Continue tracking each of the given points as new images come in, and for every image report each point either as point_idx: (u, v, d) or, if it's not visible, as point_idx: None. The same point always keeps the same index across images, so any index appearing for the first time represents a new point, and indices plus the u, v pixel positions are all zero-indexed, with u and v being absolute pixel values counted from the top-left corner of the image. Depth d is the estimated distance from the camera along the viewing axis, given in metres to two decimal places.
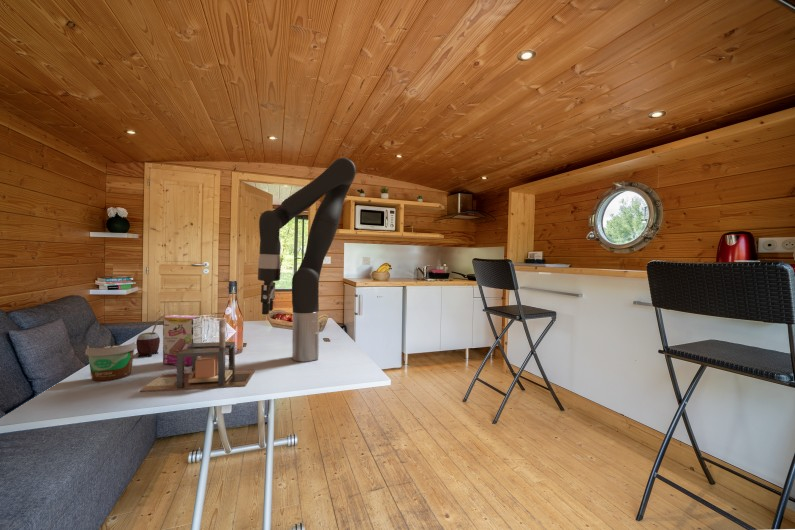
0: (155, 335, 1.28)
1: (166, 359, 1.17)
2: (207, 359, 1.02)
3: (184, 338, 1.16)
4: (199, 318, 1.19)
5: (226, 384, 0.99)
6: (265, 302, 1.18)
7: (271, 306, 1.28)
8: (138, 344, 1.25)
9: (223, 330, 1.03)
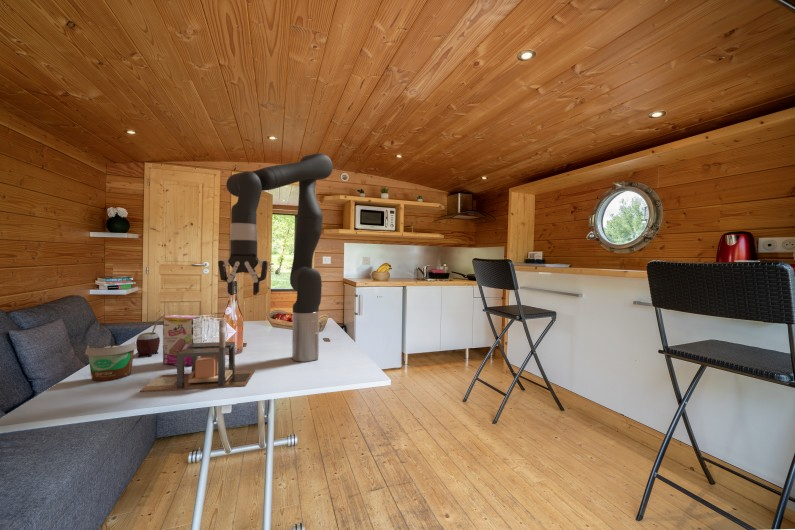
0: (155, 335, 1.28)
1: (166, 359, 1.17)
2: (207, 359, 1.02)
3: (184, 338, 1.16)
4: (199, 318, 1.19)
5: (226, 384, 0.99)
6: None
7: (233, 289, 1.05)
8: (138, 344, 1.25)
9: (223, 330, 1.03)
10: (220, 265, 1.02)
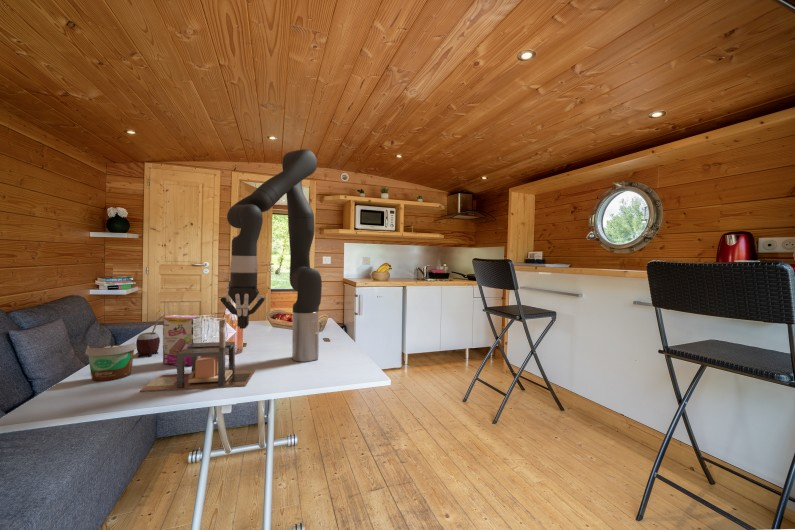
0: (155, 335, 1.28)
1: (166, 359, 1.17)
2: (207, 359, 1.02)
3: (184, 338, 1.16)
4: (199, 318, 1.19)
5: (226, 384, 0.99)
6: None
7: None
8: (138, 344, 1.25)
9: (223, 330, 1.03)
10: (224, 302, 1.03)
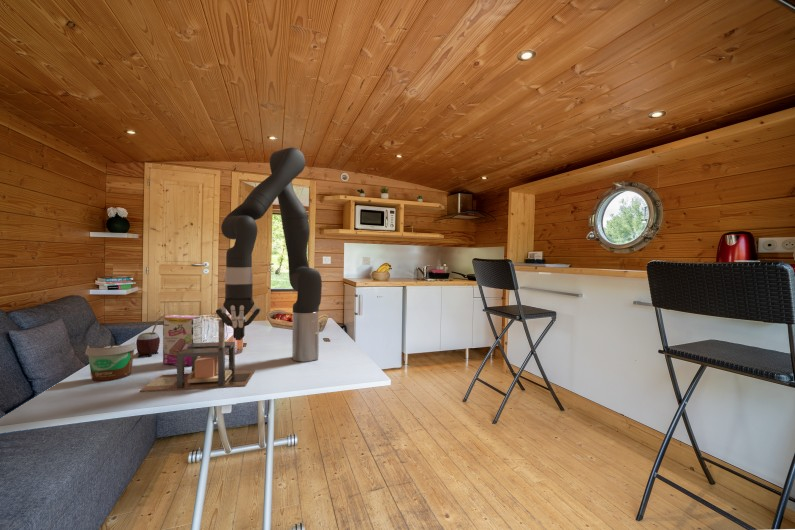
0: (155, 335, 1.28)
1: (166, 359, 1.17)
2: (206, 359, 1.02)
3: (184, 338, 1.16)
4: (199, 318, 1.19)
5: (226, 384, 0.99)
6: (247, 324, 1.05)
7: None
8: (138, 344, 1.25)
9: (222, 330, 1.03)
10: (219, 314, 1.02)
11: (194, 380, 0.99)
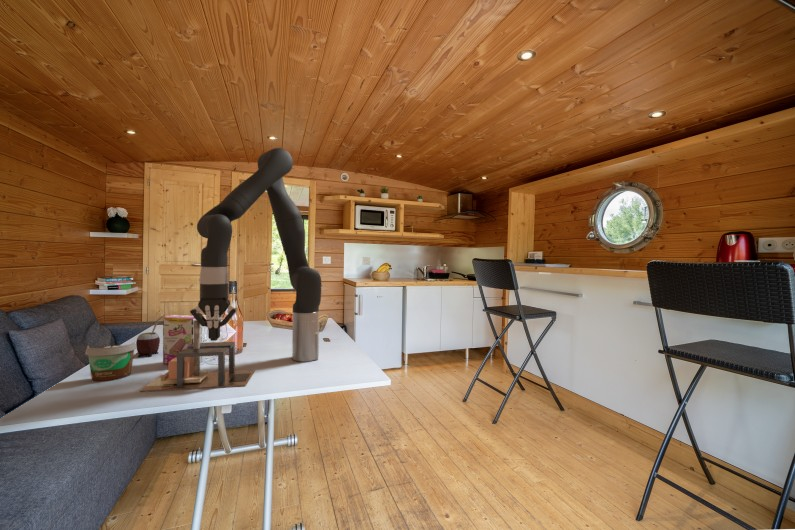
0: (155, 335, 1.28)
1: (166, 359, 1.17)
2: None
3: (184, 338, 1.16)
4: None
5: (226, 384, 0.99)
6: None
7: None
8: (138, 344, 1.25)
9: (197, 331, 1.02)
10: (194, 314, 1.01)
11: (168, 381, 0.98)
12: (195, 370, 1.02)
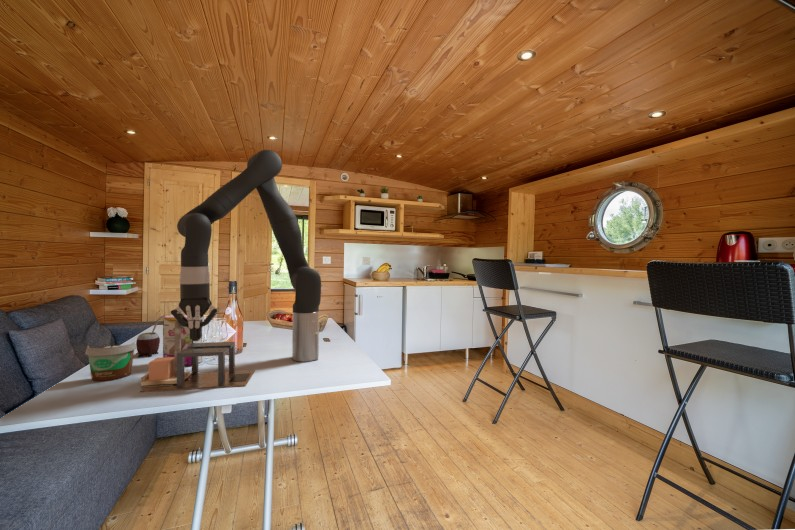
0: (155, 335, 1.28)
1: None
2: (161, 361, 0.99)
3: (184, 338, 1.16)
4: None
5: (226, 384, 0.99)
6: None
7: None
8: (138, 344, 1.25)
9: (178, 331, 1.01)
10: (174, 314, 1.00)
11: (148, 382, 0.97)
12: (176, 371, 1.01)
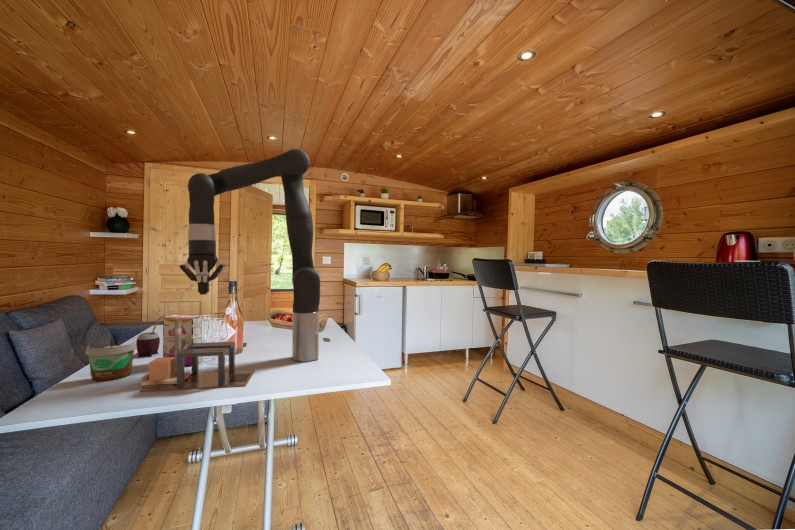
0: (155, 335, 1.28)
1: None
2: (162, 361, 0.99)
3: (184, 338, 1.16)
4: (199, 318, 1.19)
5: (226, 384, 0.99)
6: None
7: None
8: (138, 344, 1.25)
9: (179, 331, 1.01)
10: (183, 269, 1.07)
11: (148, 382, 0.97)
12: (176, 371, 1.01)
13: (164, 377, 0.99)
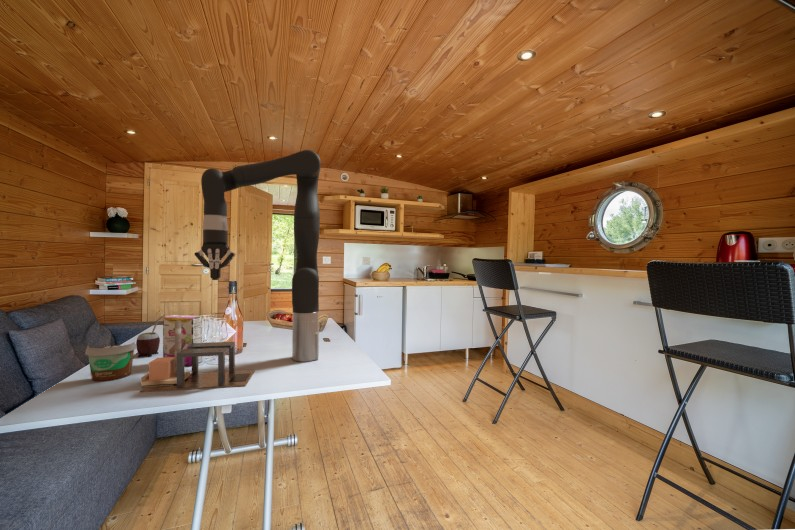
0: (155, 335, 1.28)
1: None
2: (162, 361, 0.99)
3: (184, 338, 1.16)
4: (199, 318, 1.19)
5: (226, 384, 0.99)
6: None
7: None
8: (138, 344, 1.25)
9: (179, 331, 1.01)
10: (197, 256, 1.17)
11: (148, 382, 0.97)
12: (176, 371, 1.01)
13: (164, 377, 0.99)
